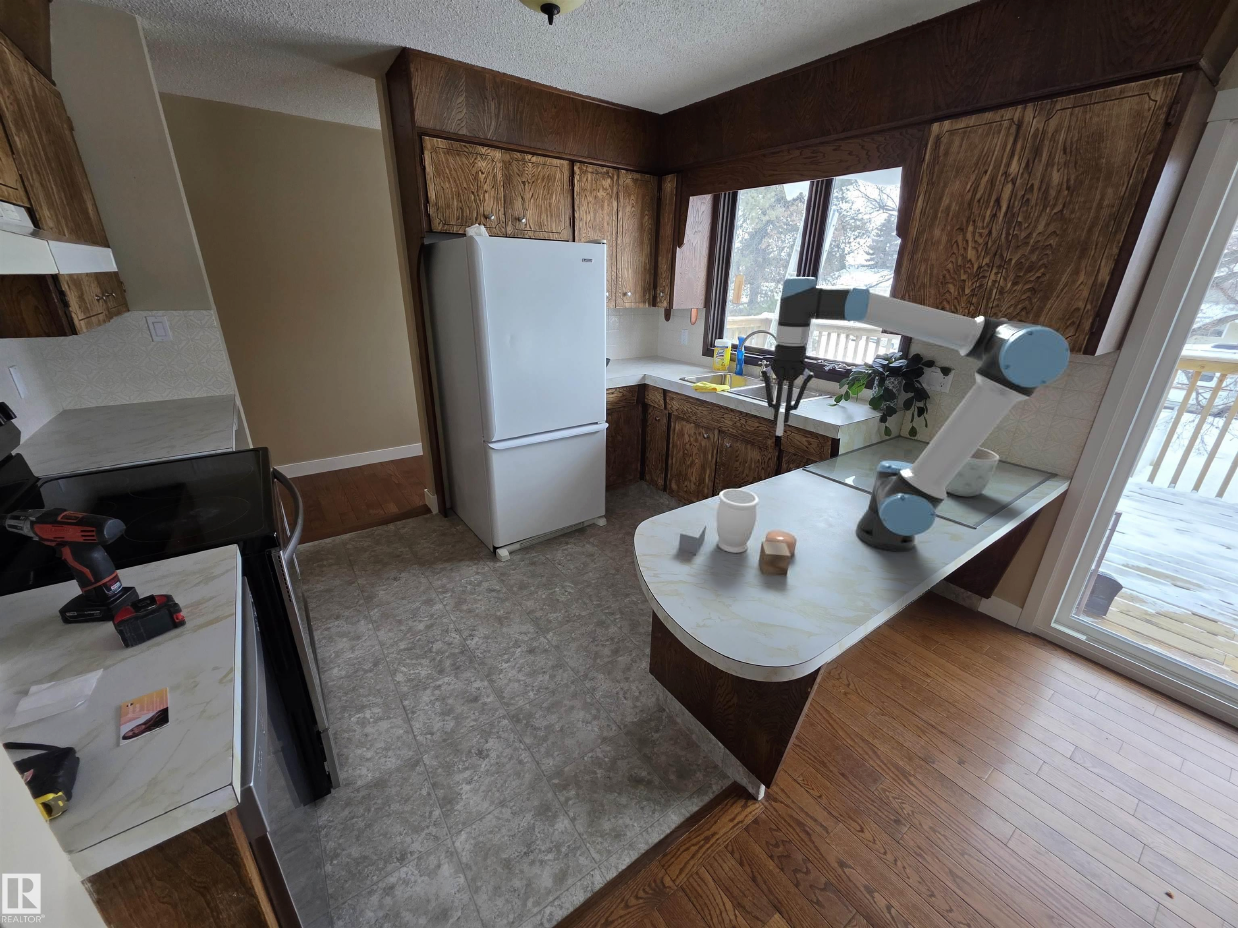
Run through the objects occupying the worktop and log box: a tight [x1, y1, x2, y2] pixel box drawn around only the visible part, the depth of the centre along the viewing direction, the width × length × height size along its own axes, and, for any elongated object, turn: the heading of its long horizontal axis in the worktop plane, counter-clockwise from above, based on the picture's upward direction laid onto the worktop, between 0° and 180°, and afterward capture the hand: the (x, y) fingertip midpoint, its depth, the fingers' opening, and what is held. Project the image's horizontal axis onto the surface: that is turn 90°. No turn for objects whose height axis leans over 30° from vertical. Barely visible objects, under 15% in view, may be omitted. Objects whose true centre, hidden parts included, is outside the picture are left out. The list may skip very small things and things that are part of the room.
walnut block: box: [758, 540, 792, 577], centre depth 127 cm, size 6×6×6 cm
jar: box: [716, 488, 759, 554], centre depth 135 cm, size 11×10×15 cm
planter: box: [945, 446, 1000, 497], centre depth 175 cm, size 17×17×15 cm
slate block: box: [678, 520, 707, 555], centre depth 137 cm, size 5×8×5 cm, turn 156°
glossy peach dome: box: [764, 530, 798, 558], centre depth 136 cm, size 8×8×4 cm
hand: (779, 434), depth 132 cm, fingers closed
